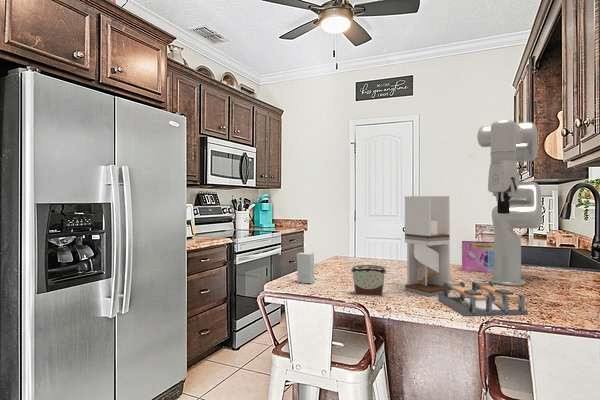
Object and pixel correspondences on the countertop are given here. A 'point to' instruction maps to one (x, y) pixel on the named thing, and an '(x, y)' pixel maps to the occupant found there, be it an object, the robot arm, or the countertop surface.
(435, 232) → the white dispenser tower
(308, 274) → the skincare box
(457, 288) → the strap
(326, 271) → the countertop surface
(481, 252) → the gum box
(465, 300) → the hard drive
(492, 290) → the strap
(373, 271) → the food container
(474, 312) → the grey dish rack
